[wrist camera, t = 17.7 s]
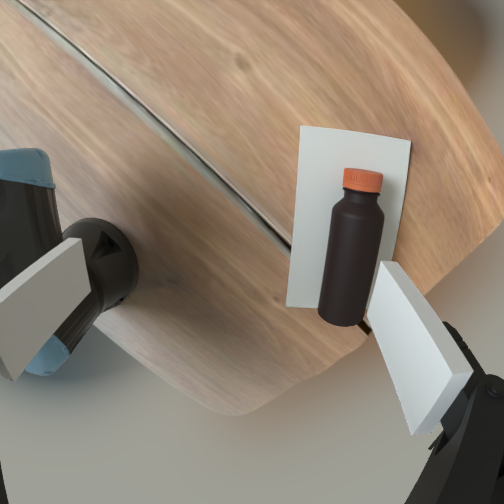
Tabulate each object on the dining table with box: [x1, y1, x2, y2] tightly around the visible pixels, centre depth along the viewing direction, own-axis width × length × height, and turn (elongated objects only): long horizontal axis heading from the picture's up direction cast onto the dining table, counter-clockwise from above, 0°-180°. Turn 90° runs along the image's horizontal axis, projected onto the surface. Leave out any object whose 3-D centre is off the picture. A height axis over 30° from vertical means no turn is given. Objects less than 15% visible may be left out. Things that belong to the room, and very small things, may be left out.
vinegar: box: [318, 168, 385, 327], centre depth 38 cm, size 7×7×20 cm
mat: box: [286, 126, 411, 310], centre depth 40 cm, size 15×26×1 cm, turn 178°
